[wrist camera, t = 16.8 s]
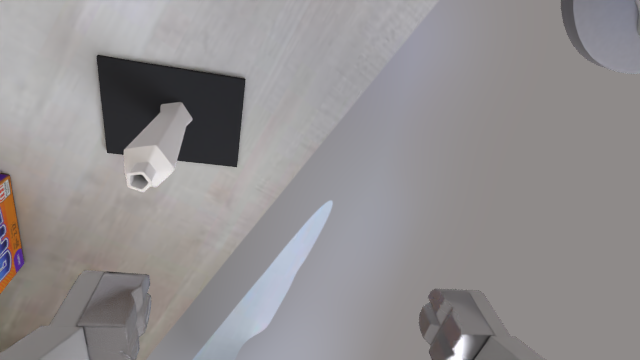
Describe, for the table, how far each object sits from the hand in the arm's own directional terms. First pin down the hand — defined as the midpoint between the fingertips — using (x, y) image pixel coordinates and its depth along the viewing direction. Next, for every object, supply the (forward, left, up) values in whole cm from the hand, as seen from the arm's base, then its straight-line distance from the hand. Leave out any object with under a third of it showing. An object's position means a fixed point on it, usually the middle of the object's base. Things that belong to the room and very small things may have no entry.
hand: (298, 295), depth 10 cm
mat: (+11, +11, -37) cm, 40 cm away
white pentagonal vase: (+11, +11, -36) cm, 39 cm away
